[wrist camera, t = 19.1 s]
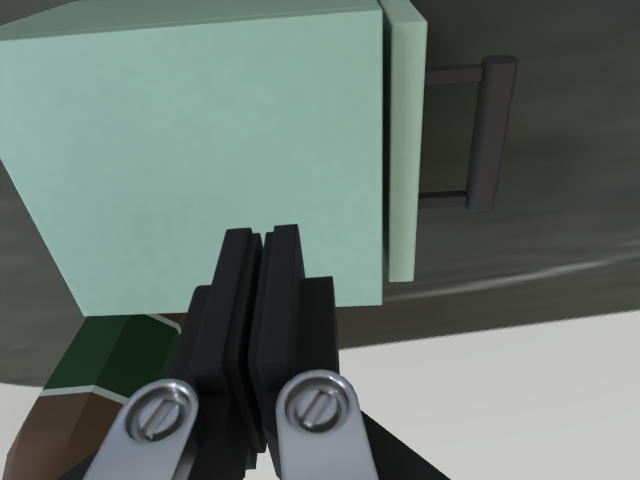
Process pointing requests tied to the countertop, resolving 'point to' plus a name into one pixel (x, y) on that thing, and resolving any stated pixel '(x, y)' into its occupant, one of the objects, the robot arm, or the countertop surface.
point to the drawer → (406, 128)
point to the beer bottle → (91, 391)
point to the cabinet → (196, 140)
